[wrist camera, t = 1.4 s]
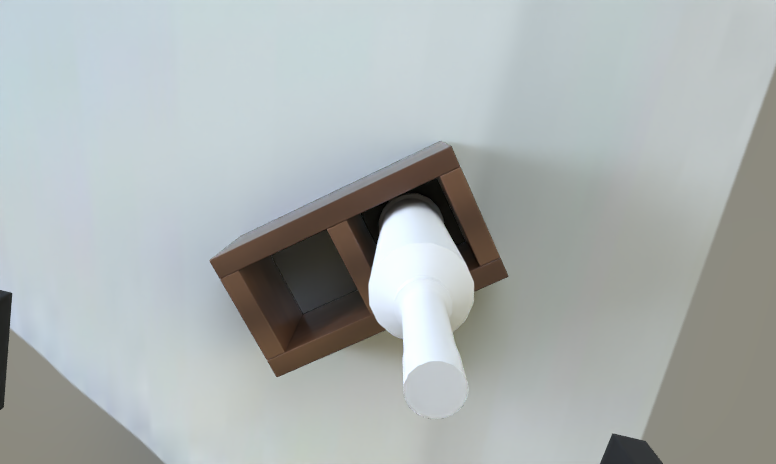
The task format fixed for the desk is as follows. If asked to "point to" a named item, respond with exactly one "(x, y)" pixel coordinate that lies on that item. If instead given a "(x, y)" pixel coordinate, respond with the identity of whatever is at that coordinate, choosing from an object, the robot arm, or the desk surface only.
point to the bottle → (422, 301)
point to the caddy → (357, 249)
